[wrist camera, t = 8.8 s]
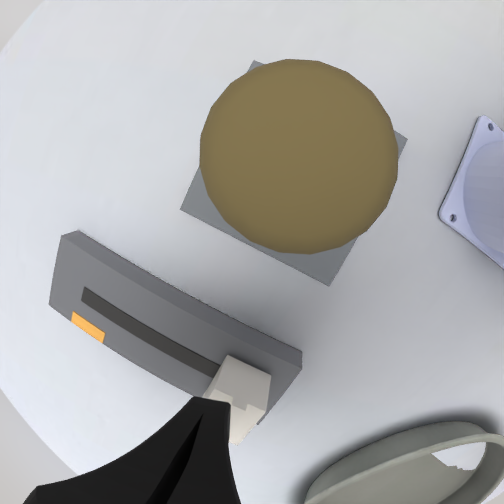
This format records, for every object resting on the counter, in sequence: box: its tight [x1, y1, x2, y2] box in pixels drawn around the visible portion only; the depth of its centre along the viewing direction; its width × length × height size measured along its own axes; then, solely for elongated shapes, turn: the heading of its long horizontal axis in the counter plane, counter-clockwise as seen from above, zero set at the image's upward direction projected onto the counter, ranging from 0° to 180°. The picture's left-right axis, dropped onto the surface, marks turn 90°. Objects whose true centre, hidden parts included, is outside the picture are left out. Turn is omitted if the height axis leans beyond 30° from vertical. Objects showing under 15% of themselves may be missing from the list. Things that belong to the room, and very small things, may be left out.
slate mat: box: [180, 61, 408, 286], centre depth 17 cm, size 10×10×1 cm
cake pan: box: [304, 421, 504, 504], centre depth 21 cm, size 25×25×4 cm
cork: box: [199, 59, 398, 255], centre depth 11 cm, size 6×6×11 cm
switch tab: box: [203, 355, 271, 445], centre depth 17 cm, size 3×4×4 cm
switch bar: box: [49, 231, 302, 425], centre depth 20 cm, size 18×6×2 cm, turn 64°
